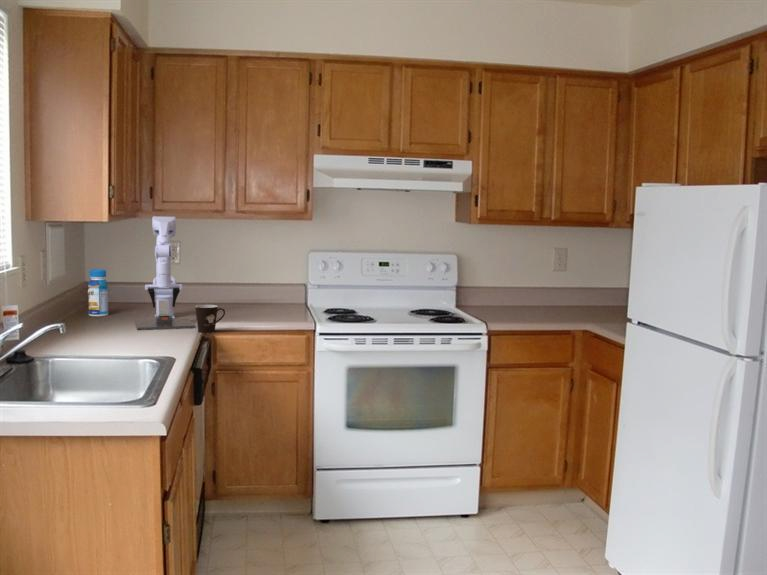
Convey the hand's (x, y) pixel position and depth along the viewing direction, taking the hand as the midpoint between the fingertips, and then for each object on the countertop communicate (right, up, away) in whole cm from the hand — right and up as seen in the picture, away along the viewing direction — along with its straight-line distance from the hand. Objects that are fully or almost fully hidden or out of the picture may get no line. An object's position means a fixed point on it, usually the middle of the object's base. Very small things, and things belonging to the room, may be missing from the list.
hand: (163, 307), depth 306 cm
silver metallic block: (0, -3, 0) cm, 4 cm away
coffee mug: (+22, -10, -12) cm, 27 cm away
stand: (0, -7, +1) cm, 7 cm away
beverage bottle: (-35, -4, +22) cm, 42 cm away
